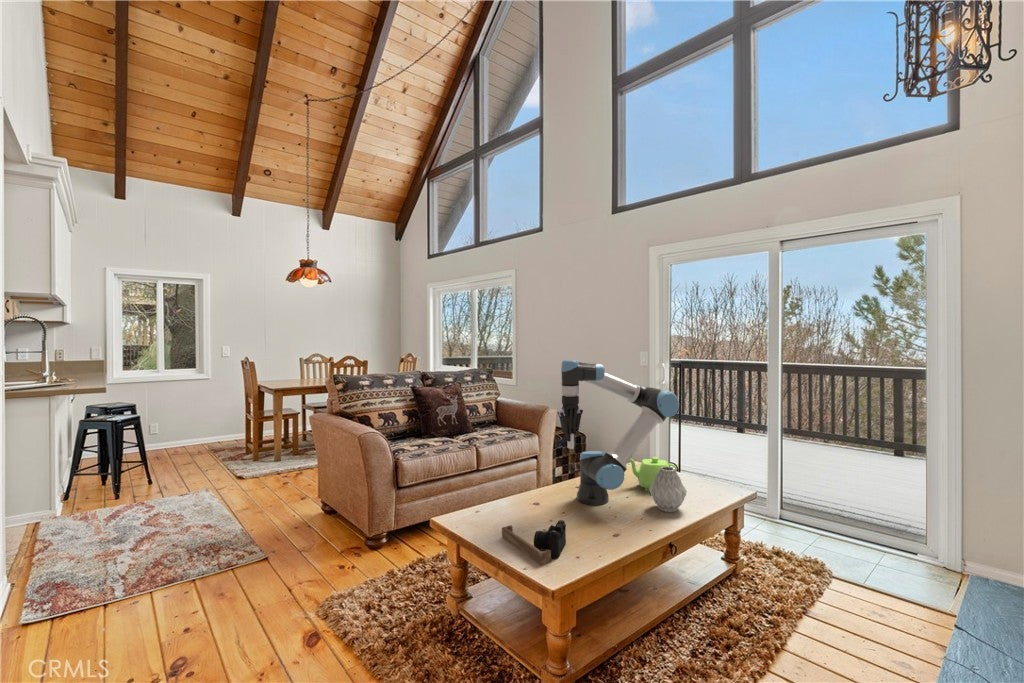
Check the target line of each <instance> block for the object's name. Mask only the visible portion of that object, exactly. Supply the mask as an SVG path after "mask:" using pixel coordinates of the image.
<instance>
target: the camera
mask: <svg viewBox="0 0 1024 683" xmlns="http://www.w3.org/2000/svg"><path fill="white" fill-rule="evenodd" d="M566 528H567V524H566V522H565V520H563V519H560V520H558V521H557V522H556V523H555V525H552V524H551V525H550V526H549V528H548V529H547V530H545V531H544V530H536V531H535V532H534V536H533V546H534V547H536V548H537V549H539V550H541V551H545V550H551V560H558V559H559V558H560V556H561V554H562V552H563V551H564V548H565V547H566V543H567V542H566V540H567V539H566V538H567V535H566V534H567V533H566V531H567V529H566Z"/></svg>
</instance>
